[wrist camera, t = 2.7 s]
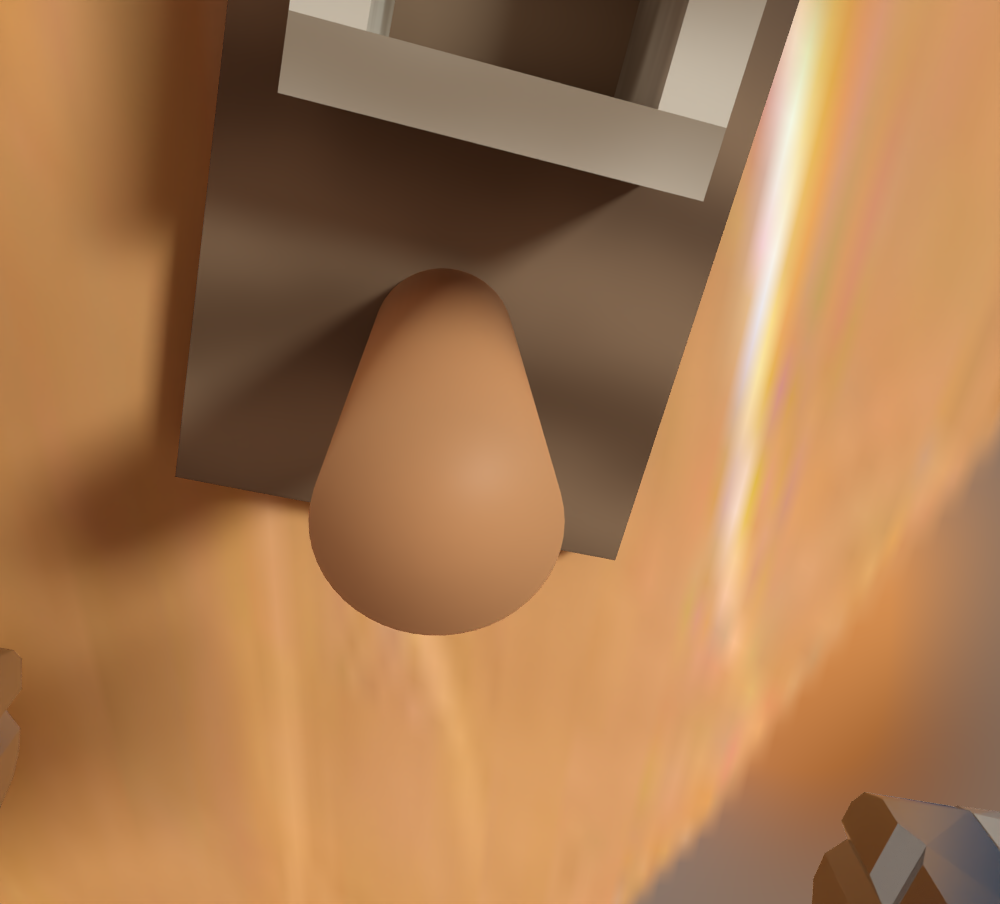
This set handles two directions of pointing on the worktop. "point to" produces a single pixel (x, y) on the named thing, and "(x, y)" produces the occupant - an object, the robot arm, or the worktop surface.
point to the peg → (438, 467)
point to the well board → (468, 214)
